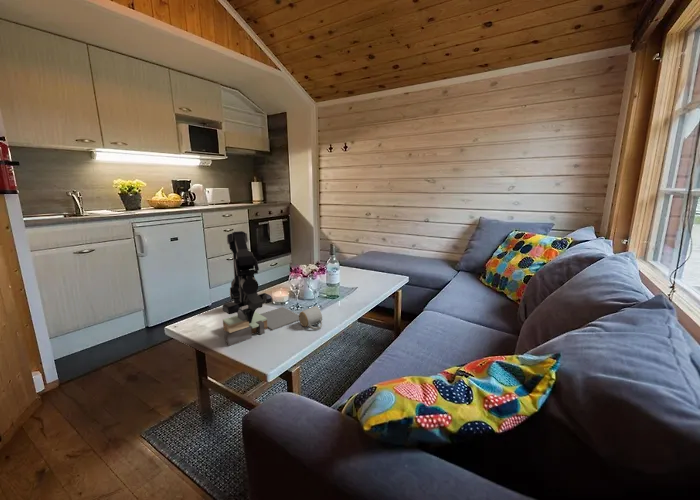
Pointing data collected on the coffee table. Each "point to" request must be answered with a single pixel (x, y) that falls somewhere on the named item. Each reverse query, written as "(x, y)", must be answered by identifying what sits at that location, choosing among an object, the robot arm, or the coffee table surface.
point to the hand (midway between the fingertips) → (249, 322)
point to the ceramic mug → (311, 317)
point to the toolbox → (243, 333)
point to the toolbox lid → (241, 317)
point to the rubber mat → (280, 318)
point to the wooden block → (237, 326)
